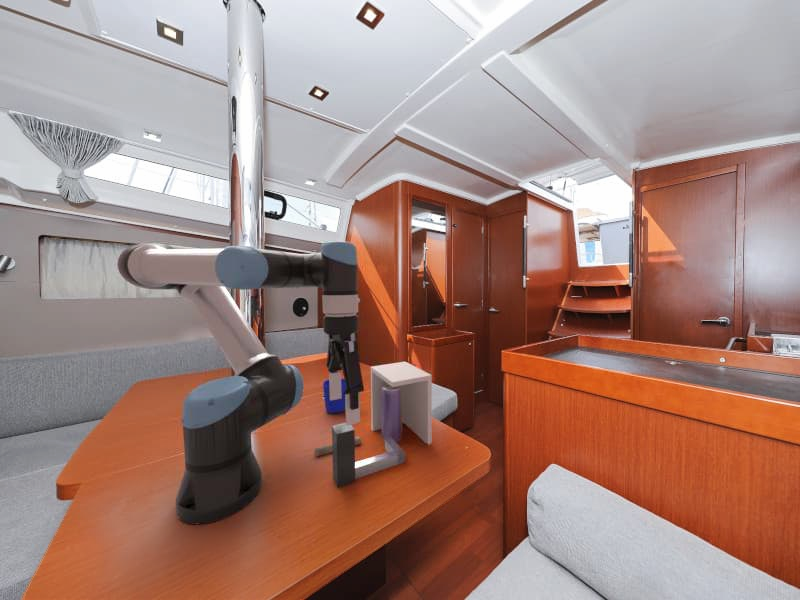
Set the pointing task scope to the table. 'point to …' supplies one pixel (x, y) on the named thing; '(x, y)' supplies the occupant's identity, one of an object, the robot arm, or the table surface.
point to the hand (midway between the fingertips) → (343, 410)
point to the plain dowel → (328, 448)
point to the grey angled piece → (345, 456)
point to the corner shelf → (405, 396)
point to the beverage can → (391, 412)
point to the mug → (337, 404)
